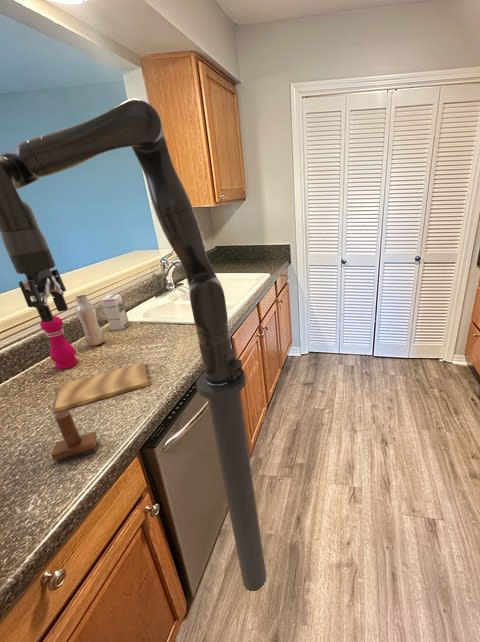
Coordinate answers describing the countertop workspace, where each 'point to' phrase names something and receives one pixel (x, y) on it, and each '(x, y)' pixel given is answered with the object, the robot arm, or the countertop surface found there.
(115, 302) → the syrup box
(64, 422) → the scrub brush
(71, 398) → the cutting board
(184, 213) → the robot arm
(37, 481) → the countertop surface
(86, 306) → the plastic bottle
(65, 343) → the pepper mill
